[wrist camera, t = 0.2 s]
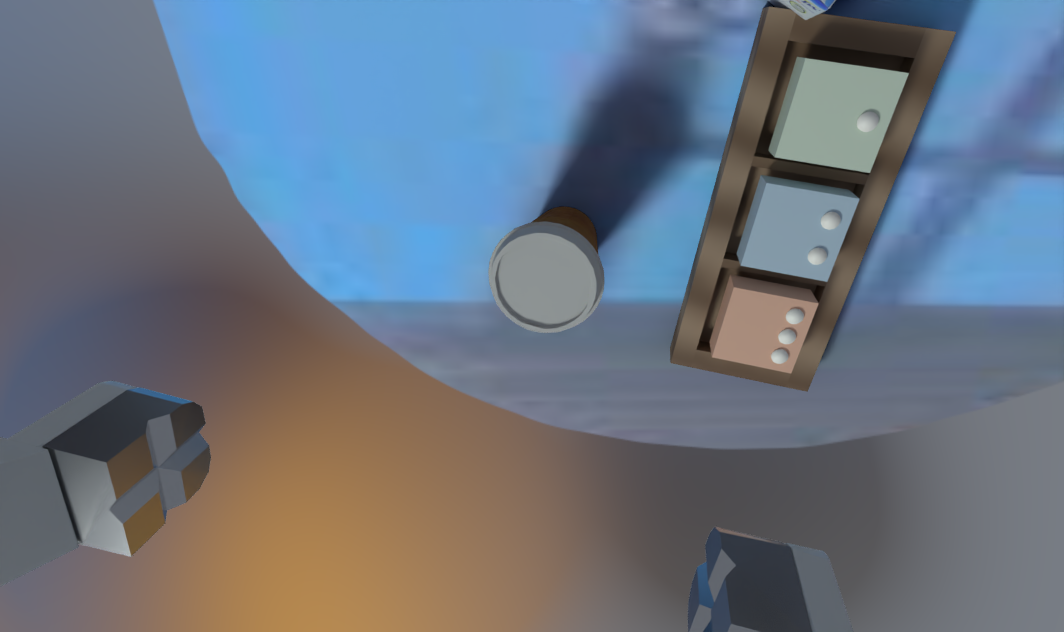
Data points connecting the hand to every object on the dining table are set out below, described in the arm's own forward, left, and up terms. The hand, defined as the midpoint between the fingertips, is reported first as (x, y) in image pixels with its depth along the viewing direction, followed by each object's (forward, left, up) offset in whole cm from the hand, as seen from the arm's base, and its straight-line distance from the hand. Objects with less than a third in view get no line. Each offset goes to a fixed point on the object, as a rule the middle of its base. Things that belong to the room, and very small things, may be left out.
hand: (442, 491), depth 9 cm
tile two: (+6, +16, -45) cm, 48 cm away
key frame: (+6, +16, -48) cm, 50 cm away
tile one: (-3, +16, -45) cm, 48 cm away
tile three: (+15, +16, -45) cm, 50 cm away
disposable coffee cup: (+12, -3, -48) cm, 49 cm away
